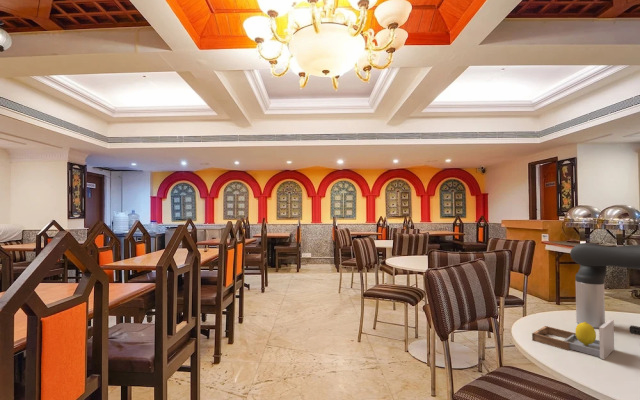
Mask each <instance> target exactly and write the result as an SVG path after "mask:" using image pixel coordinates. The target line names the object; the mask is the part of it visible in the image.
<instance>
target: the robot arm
mask: <svg viewBox="0 0 640 400" xmlns="http://www.w3.org/2000/svg"><path fill="white" fill-rule="evenodd" d="M569 253H570V258H571V260H572V261H573V262H575V263H576V264H578V265H579V269H578V272H576V273H575V307H576V308H575V309H576V311H575V312H576V313H575V315H576V316H575V317H576V319H575V320H576V322H575V323H577V324H578V323H579V324H580V323H583V322H587V323H588V324H590V325H591V326H592V327H593V328H594V329H595V328H598V329H599V327H600V326H602V325H603V324H604V323H605V322H606V308H605V307H606V306H605V305H606V303H605V302H606V300H605V297H606V295H605V278H606V276H607V267H618V268H619V267H620V268H623V269H624V268H625V269H633V270H640V244H630V245H621V246H604V245H601V244H599V243H595V242H582V243H578V244H576V245H574V246H573V247H572V248H571V250H570V252H569ZM628 329H629V333H630V334H631V335H636V336H640V326H637V325H632V324H631V325H630V326H629V328H628Z"/></svg>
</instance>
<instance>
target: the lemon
mask: <svg viewBox="0 0 640 400" xmlns="http://www.w3.org/2000/svg"><path fill="white" fill-rule="evenodd" d="M574 333H576V337H577V339H578V340H579V341H580V342H581V343H583V344H584V345H585V346H587V345H589V344H592V343H594V341H595V340H597V339H596V338H597V334H596V329H595V328H594V327H592V326H591V325H590V324H588V323H587V322H583V323H580V324H578V323H577V326H576V328H575V332H574Z"/></svg>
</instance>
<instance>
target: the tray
mask: <svg viewBox="0 0 640 400" xmlns="http://www.w3.org/2000/svg"><path fill="white" fill-rule="evenodd" d="M614 323H615V322H614V319H611V318H609V319H608V320H607V321H605V323H604V324H603V325H602V326H600V327H599V328H598V329H599V331H598V333H599V334H598V336H599V337H598V339H595V341H594V343H592V344H589V345H587V346H585V345H584V344H583V343H581V342H580V341H579V340H578V339H577V337H576V335H575V334H573V335H571V336H570V337H568V338H565V339H563V341H566V342H569V350H572V351H577V352H580V353H584V354H588V355H590V356H595V357H598V358H599V359H600V360H605V359H606V358H607V357H608V356H609V355H610V354H611V353H612V352H613V351H614V350H615V332H614V331H615V324H614Z"/></svg>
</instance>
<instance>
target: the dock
mask: <svg viewBox="0 0 640 400" xmlns="http://www.w3.org/2000/svg"><path fill="white" fill-rule="evenodd" d="M547 334H548V335H552V336H557V337H561V338H563V339H567V338H568V337H570V336H571V335H573V334H575V335H576V333H575V332H572V331H568V330H564V329H560V328H555V327H553V326H552V327H551V326H549V325H548V326H547V325H545V326H543V327H541V328H539V329H538V330H535V331H534V332H532V333H531V336H532V337H531V340H532V341H534V342H538V343H541V344H545V345H550V346H552V347H555V348H558V349H559V348H560V349H563V350H565V351H569V350H570V349H569V342H566V341H564V340H561V339H558V338H554V337H550V336H546V335H547Z"/></svg>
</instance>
